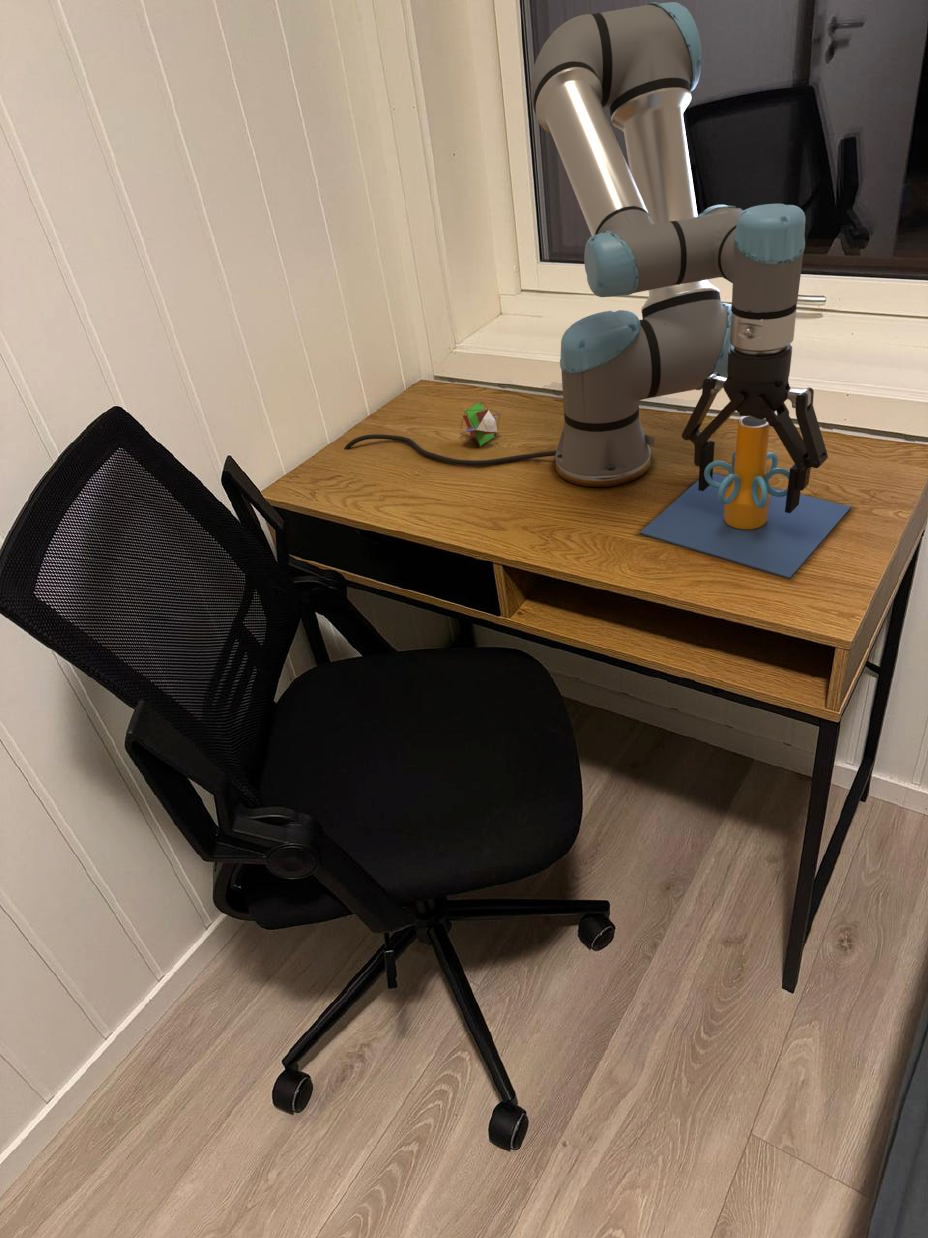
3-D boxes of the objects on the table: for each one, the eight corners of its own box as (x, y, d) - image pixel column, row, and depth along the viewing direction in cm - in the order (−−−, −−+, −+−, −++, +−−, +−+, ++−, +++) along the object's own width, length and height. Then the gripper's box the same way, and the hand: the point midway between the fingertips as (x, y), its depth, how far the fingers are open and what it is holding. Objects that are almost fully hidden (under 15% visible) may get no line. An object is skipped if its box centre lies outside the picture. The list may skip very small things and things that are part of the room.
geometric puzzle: (445, 431, 151) (461, 402, 145) (470, 415, 155) (487, 386, 149) (473, 460, 151) (490, 432, 144) (497, 443, 155) (515, 416, 148)
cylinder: (695, 503, 125) (699, 408, 116) (765, 493, 125) (775, 396, 116) (722, 547, 116) (729, 447, 107) (798, 536, 116) (812, 434, 107)
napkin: (639, 533, 121) (639, 532, 121) (707, 473, 133) (707, 471, 132) (789, 579, 109) (790, 577, 109) (851, 508, 120) (851, 506, 120)
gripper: (658, 341, 110) (656, 488, 123) (847, 369, 96) (823, 532, 109) (686, 322, 114) (682, 466, 127) (873, 346, 100) (846, 506, 113)
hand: (747, 497), depth 118 cm, fingers closed on cylinder, 12 cm apart
